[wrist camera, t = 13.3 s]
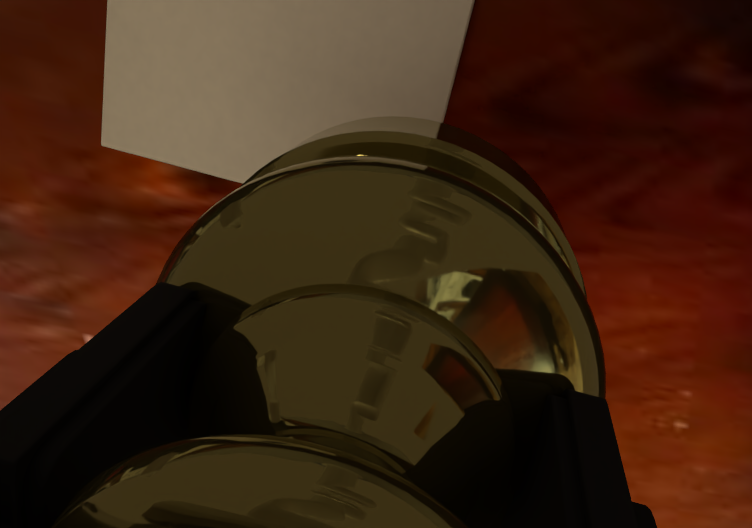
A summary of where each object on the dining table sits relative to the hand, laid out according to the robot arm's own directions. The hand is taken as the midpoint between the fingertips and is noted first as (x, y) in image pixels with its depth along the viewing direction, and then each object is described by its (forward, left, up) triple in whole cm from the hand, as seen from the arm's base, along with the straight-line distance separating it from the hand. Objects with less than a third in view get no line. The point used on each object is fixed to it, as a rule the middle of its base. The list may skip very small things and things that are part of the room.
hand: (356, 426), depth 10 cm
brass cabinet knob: (0, 0, -5) cm, 5 cm away
